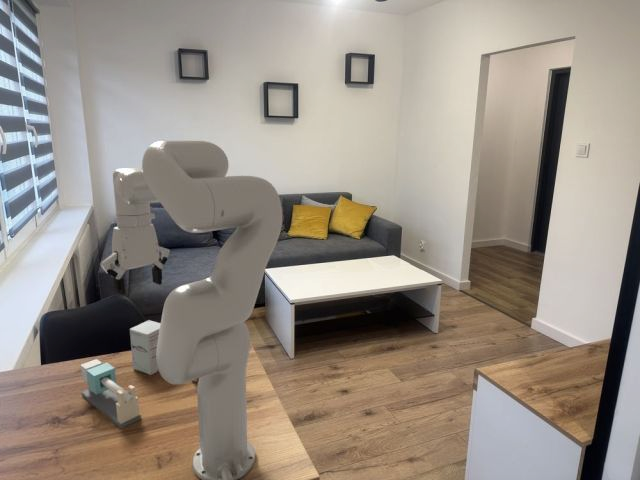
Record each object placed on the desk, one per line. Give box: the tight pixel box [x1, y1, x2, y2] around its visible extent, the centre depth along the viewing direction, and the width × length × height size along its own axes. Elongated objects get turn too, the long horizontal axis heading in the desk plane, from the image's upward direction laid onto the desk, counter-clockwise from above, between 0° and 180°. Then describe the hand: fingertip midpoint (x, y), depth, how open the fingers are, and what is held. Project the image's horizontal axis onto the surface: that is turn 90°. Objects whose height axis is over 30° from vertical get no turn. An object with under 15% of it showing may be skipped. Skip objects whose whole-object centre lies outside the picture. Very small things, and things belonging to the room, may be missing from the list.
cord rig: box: [80, 358, 142, 429], centre depth 108 cm, size 20×5×8 cm, turn 51°
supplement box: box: [129, 319, 161, 376], centre depth 126 cm, size 7×7×13 cm
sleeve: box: [87, 362, 117, 395], centre depth 109 cm, size 4×5×5 cm
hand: (139, 288), depth 109 cm, fingers open, 9 cm apart
